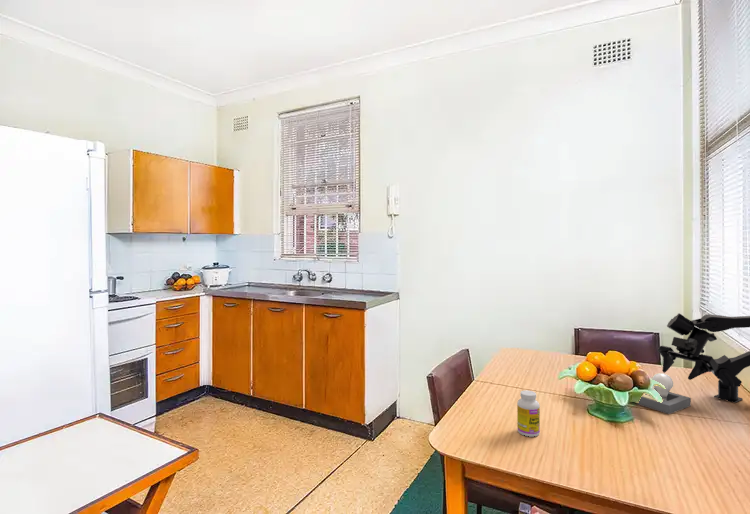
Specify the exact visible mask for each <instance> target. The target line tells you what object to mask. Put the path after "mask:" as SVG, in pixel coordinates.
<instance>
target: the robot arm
mask: <svg viewBox="0 0 750 514" xmlns="http://www.w3.org/2000/svg"><path fill="white" fill-rule="evenodd" d="M666 327H667V328H668V329H669V330H672V331H674V332H675V333H677V334H678V335H680V336H684V335H685V336H688V337H686V338H683V337H682V338H681V337H677V336H673V338H672V341H671V346H674V347H675V350H677V351H674V349H673V347H671V346H665V345H660V346H659V347H658V348H657V352H658V353H659V354H660V355H661V357H662V359H663V360H662V373H663V374H666V372H667V371H669V370H670V368H671V367H672V366H673V365H674V363H675V360H676V359H681V360H682V359H683V360H686V361H689V362H690V361H691V362H693V363H694V366H693V368H692V370H691V371H690V372H689V374H688V377H687V379H688V380H689V381H691V380H693V379H695V378H698V377H700V376H701V375H704V374H706V373H711V374H713V375H714V376H715V377H716V378H717V379H718V380H717V381H718V382H717V388H718V389H717V394H716V395H713V398H715V399H719V400H723V401H726V402H730V403H734V404H735V403H737V402H740V401H743V400H742V399H743V397H740V396H739V387H741V385H742V383H743V382H742V380H741V379H740V378H739V377H737V376H738V375H739V374H740V373H741V372H742V371H743V370H744V369H746V368H748V367H750V350H749V351H747V352H744V353H742V354H738V355H737V356H734V357H728V356H726V355H725V354H724V355H722V356H721V357H719V358H714V357H713V356H711V355H708V354H704V353H705V350H704V348H705V346H706V345H707V343H708V342H710V343H711V342H714V341H716V340H718V337H717V336H715V333H717V332H722V331H723V332H725V331H727V330H731V329H737V328H738V329H739V328H741V329H742V328H750V315H745V316H744V315H742V316H726V315H720V314H719V315H718V314H704V315H702V317H700V318H697V319H692V320H691V319H688V318H687V317H685V316H684V315H683V314H681V313H677V314H676V315H675V316H674V317H672V318H671V319H670V320H669V321H668V322H667V325H666Z"/></svg>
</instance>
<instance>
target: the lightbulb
mask: <svg viewBox="0 0 750 514" xmlns="http://www.w3.org/2000/svg"><path fill="white" fill-rule="evenodd" d="M652 380H655V381H657V382H659V383H661V384H662V385H664V386H665V388H666V389H663V388H661V387H659V386H654V385H653V387H654V388H656V390H657V392H658V393H659V394H660V396H661V397H662V399H664V400H666V401H667V395H668V392H671V390H672V389H673V387H674V381H673V379H672V377H671V376H670V375H668V374H667V373H664V372H659V373H655V374H654V375H653V377H652V379H651V381H652Z"/></svg>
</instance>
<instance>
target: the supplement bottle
mask: <svg viewBox="0 0 750 514" xmlns="http://www.w3.org/2000/svg"><path fill="white" fill-rule="evenodd" d="M519 393H520V394H519V395H520V398H519V399H517V405H516V406H517V407H516V408H517V411H516V412H517V416H516V417H517V418H516V419H517V420H516V421H517V423H516V424H517V428H516V429H517V432H518V434H520V435H522V436H524V435H525V436H524V437H528V436H529V437H530V438H535V437H537V436H539V435H540V434H541V433H540V431H541V430H540V429H541V427H540V426H541V425H540V424H541V422H540V419H541V417H540V416H541V415H540V407H541V406H540V403H539V401H537V393H536V392H535V391H533V390H527V389H525V390H521V391H520V392H519ZM534 436H535V437H534Z"/></svg>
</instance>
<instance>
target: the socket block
mask: <svg viewBox="0 0 750 514" xmlns="http://www.w3.org/2000/svg"><path fill="white" fill-rule="evenodd" d="M654 389H655V390H656V388H655V387H654ZM656 391H657V390H656ZM691 399H692V398H691V397H689V396H685V395H682V394H679V393H675V392H672V391H669V392H668V395H667V401H666V400H664V399H662V400H663V402H662V403H660V402H657V401H656V400H654V399H653V398H652V397H651V396H650V395H647V394H645V395H643V396H642V397H641V399H640V401H639V403H638V404H637V405H639V406H643V407H646V408H649V409H651V410H654V411H658V412H662V413H664V414H667V415H671V414H674V413H676V412H679V411H681V410H683V409H686V408H689V407H691V403H692V401H691Z"/></svg>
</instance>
